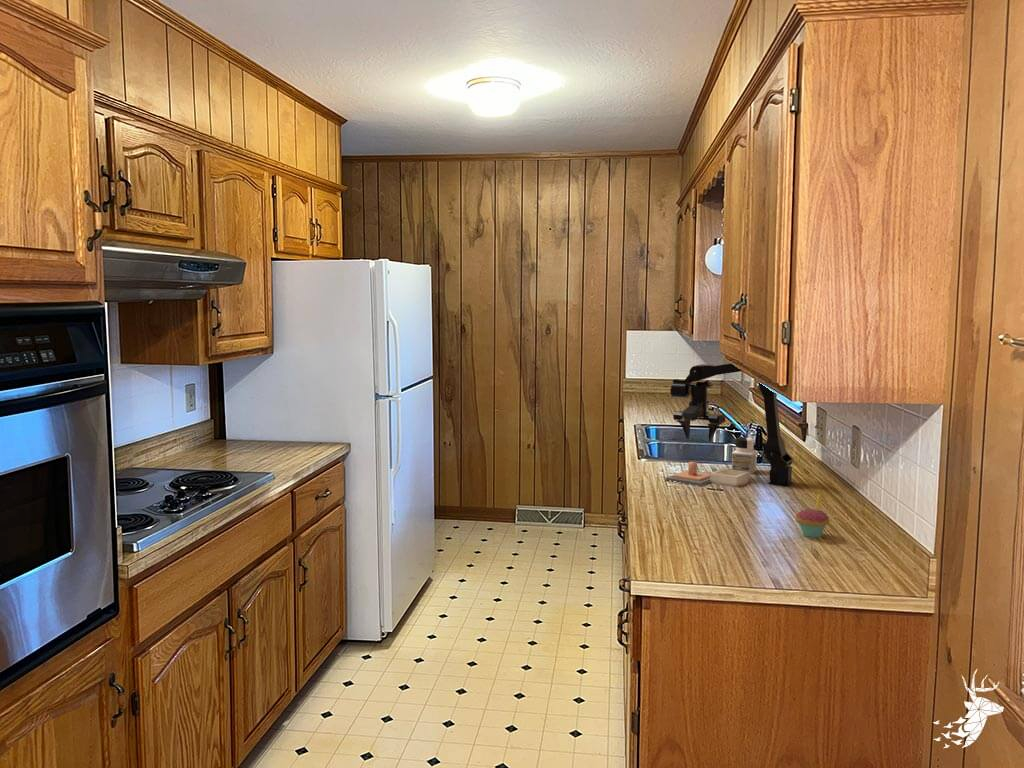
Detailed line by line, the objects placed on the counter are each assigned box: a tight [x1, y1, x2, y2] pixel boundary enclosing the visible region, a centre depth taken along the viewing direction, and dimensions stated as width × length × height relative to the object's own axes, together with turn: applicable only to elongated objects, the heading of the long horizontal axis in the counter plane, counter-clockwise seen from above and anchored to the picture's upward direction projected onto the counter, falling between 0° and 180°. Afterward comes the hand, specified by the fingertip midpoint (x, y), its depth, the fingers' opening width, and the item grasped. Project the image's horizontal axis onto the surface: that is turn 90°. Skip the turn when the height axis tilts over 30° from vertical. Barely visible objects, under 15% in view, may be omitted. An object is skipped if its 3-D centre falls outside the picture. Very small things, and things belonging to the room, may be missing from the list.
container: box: [731, 436, 757, 475], centre depth 288 cm, size 8×8×13 cm
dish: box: [709, 468, 750, 487], centre depth 271 cm, size 10×10×4 cm
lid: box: [671, 461, 710, 481], centre depth 275 cm, size 11×11×5 cm
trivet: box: [665, 475, 711, 487], centre depth 276 cm, size 14×14×1 cm
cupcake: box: [795, 491, 830, 538], centre depth 208 cm, size 9×8×12 cm
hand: (698, 439), depth 284 cm, fingers open, 9 cm apart
